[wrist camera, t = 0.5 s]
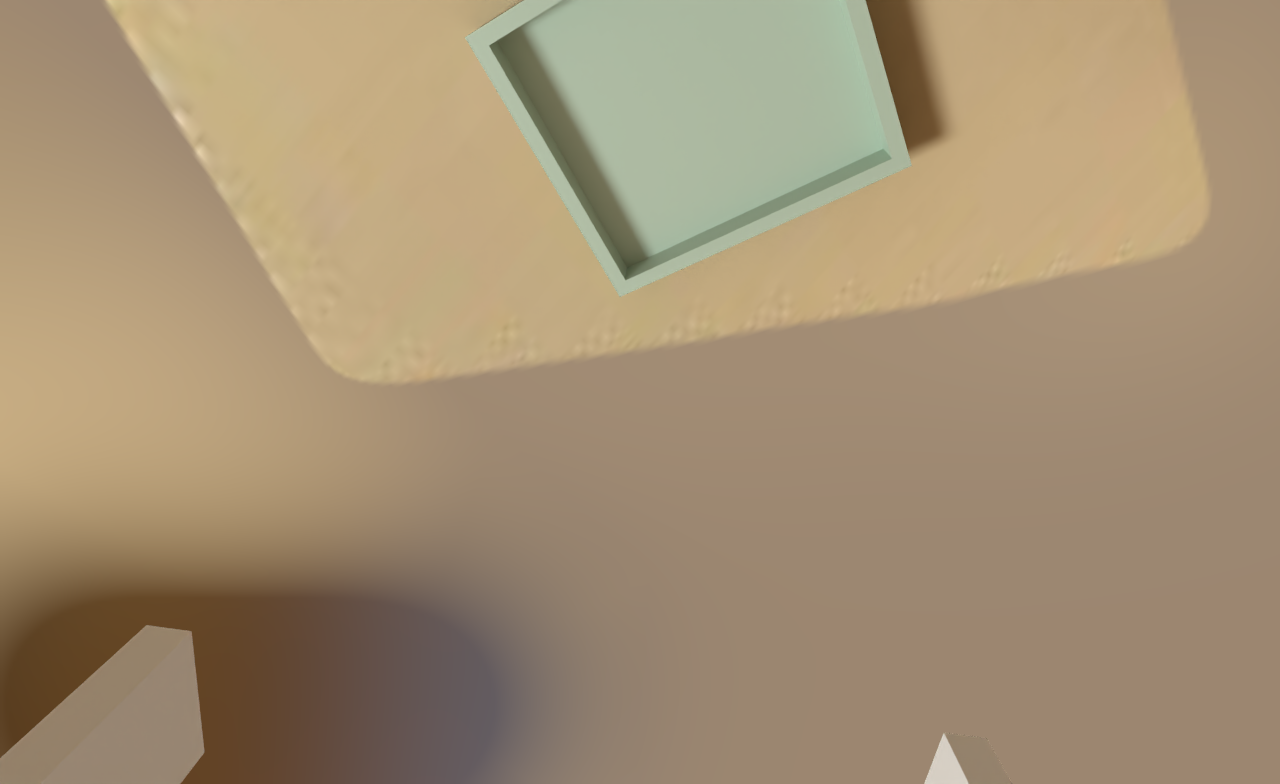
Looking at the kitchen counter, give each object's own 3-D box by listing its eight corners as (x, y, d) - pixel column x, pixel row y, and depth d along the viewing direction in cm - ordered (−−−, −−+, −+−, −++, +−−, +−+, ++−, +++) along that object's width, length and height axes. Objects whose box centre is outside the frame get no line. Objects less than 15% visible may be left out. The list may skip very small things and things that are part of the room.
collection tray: (476, 29, 29) (465, 37, 27) (804, -178, 25) (814, -184, 23) (622, 278, 36) (619, 297, 34) (898, 151, 32) (911, 165, 30)
